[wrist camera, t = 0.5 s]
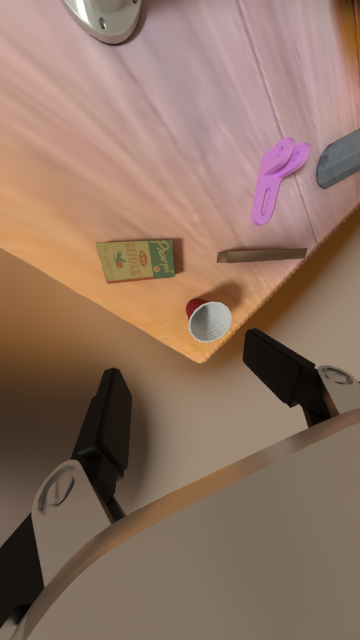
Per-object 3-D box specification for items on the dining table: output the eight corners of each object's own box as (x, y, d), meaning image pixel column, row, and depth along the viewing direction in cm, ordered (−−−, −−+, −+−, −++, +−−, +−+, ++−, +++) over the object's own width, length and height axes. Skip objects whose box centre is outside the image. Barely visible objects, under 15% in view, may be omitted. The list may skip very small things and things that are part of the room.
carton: (99, 243, 30) (93, 241, 26) (170, 240, 33) (173, 237, 29) (110, 281, 33) (106, 284, 29) (173, 275, 36) (176, 277, 33)
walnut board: (217, 252, 37) (230, 251, 31) (286, 249, 42) (307, 248, 36) (217, 262, 38) (229, 263, 32) (284, 258, 43) (304, 258, 37)
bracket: (261, 156, 30) (292, 130, 24) (280, 161, 32) (314, 138, 26) (248, 224, 36) (270, 217, 30) (265, 226, 37) (289, 219, 31)
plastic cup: (175, 292, 38) (188, 305, 28) (210, 288, 40) (234, 299, 30) (178, 325, 43) (190, 347, 32) (208, 320, 45) (229, 339, 35)
